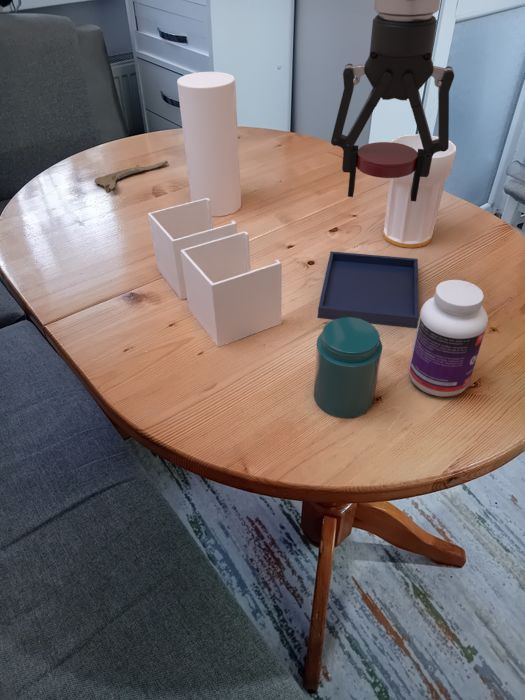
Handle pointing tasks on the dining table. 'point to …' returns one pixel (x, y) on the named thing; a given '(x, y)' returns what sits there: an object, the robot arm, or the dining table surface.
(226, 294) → the storage container
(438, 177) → the cup
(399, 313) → the tray
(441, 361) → the pill bottle
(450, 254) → the dining table surface
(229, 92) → the tall pillar cylinder
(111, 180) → the tan bone
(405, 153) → the lid
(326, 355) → the jar
